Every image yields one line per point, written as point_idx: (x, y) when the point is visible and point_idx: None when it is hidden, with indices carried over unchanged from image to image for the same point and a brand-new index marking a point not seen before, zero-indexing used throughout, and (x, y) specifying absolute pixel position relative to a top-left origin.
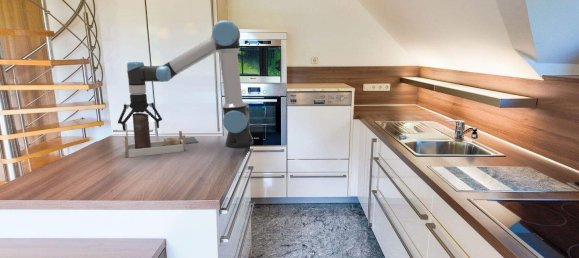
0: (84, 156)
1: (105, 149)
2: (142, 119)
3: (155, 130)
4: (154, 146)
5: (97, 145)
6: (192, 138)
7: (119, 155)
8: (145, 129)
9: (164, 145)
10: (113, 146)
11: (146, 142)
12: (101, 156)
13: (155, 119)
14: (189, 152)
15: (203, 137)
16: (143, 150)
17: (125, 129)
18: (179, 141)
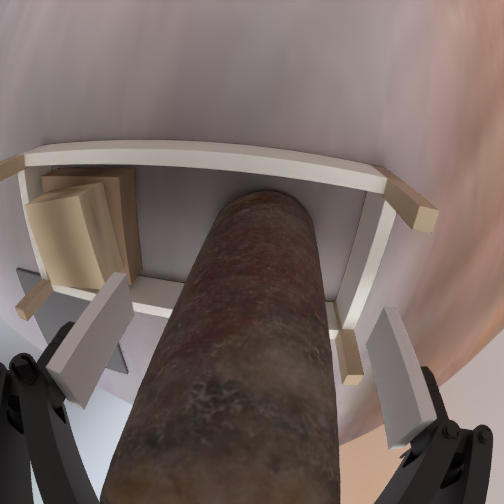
0: (490, 305)
1: None
2: (192, 466)
3: (105, 303)
4: None
5: None
6: (47, 331)
7: (400, 243)
8: (198, 314)
9: (121, 234)
10: (357, 391)
11: (231, 226)
12: (460, 272)
13: (35, 401)
14: (33, 107)
15: (23, 325)
16: (274, 154)
17: (421, 370)
18: None
